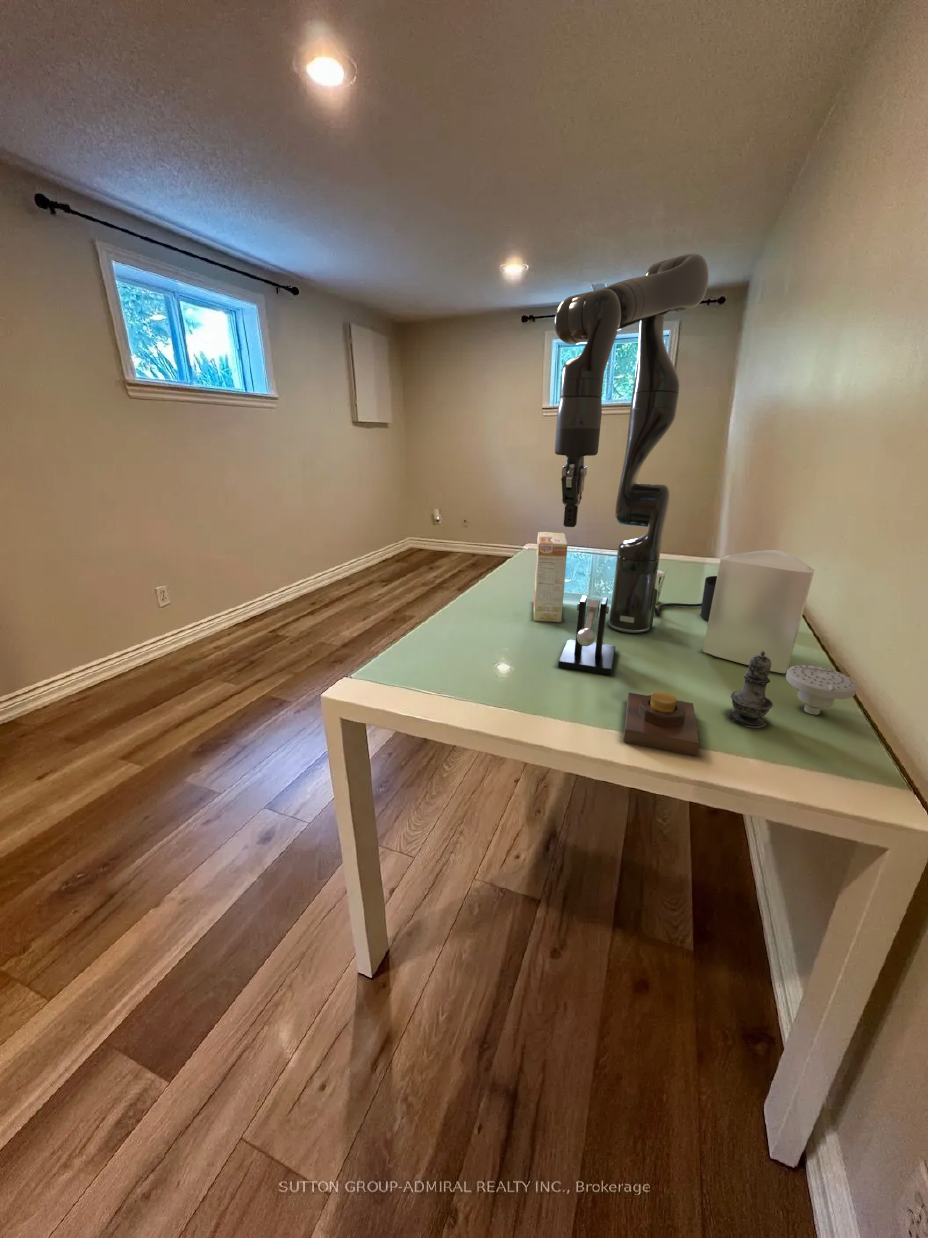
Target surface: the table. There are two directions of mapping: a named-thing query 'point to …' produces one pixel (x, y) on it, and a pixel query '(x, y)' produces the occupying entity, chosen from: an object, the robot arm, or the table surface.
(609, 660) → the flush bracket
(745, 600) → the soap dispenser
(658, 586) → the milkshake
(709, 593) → the pen holder
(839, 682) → the showerhead
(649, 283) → the robot arm
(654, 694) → the button
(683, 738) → the button block
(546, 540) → the coffeecake box
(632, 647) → the table surface
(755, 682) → the salt shaker
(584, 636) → the lever
